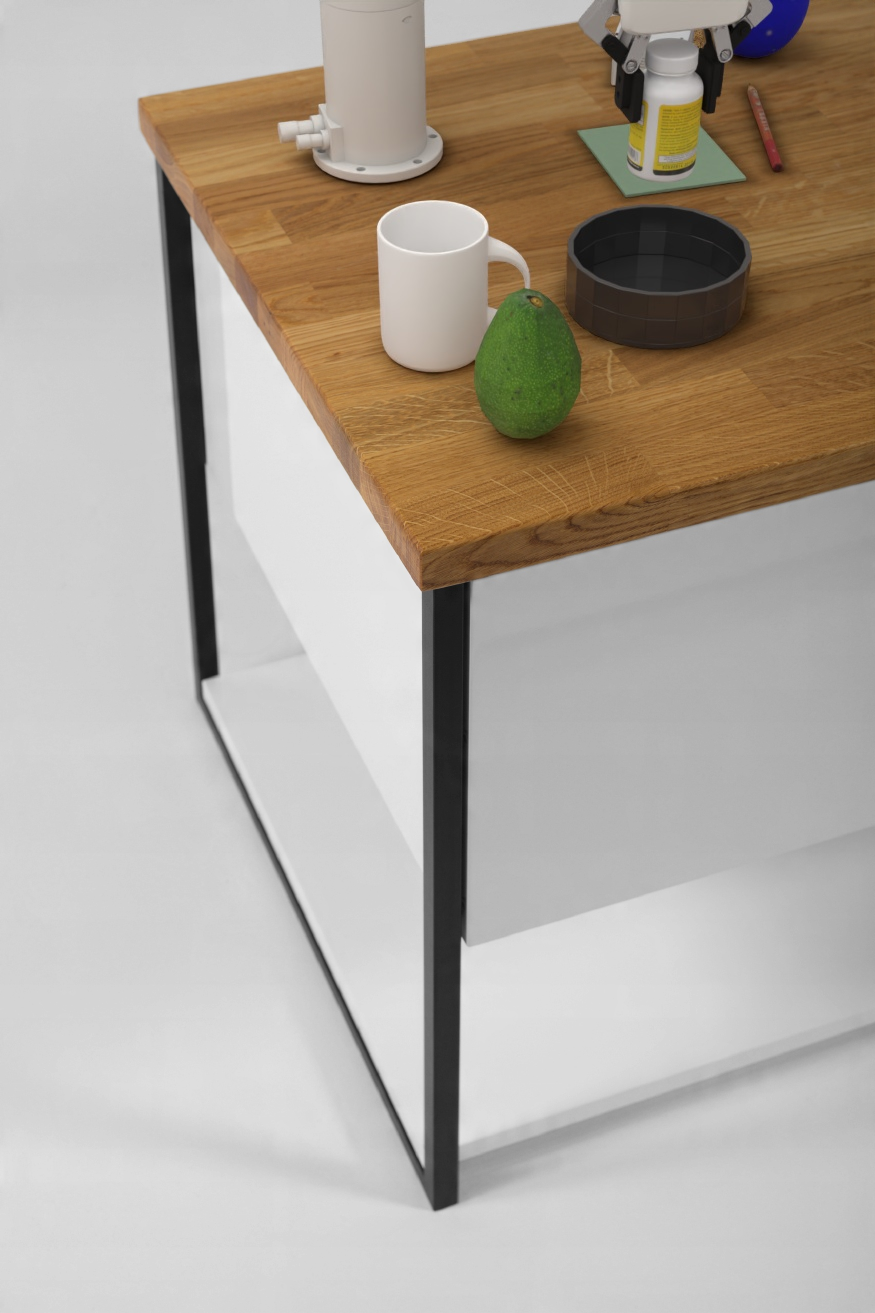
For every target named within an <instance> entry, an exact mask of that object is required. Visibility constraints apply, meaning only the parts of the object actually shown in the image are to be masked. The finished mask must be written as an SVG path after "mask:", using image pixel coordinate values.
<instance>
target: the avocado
mask: <svg viewBox="0 0 875 1313" xmlns="http://www.w3.org/2000/svg"><path fill="white" fill-rule="evenodd" d="M497 309H498V310H497V312H496V314H495V316H494V318H493V320H492V321H491V323H490V325H489V327H488V329H487V331H486V333H485V335H484V337H483V340H482V342H481V345H480V347H479V350H478V353H477V355H476V358H475V360H474V372H473V373H474V375H473V383H474V384H473V385H474V391H475V394H476V397H477V401H478V404H479V407H480V410H481V412H482V413H483V415H484V416H485V417H486V418H487V420H488V422H489V423H490V424H491V425H492V427H493V428H494V429H495V430H496V431H497V432H499V433H500V434H501V435H504V436H507V437H509V438H511V439H532V440H533V439H536V438H539V437H541V436H544V435H546V434H549V433H550V432H551V431H553V430H554V429H555V428H557V427H558V426H559V425H561V424H562V423H563V422H564V421H565V420H566V418H567V416H568V415H569V413H570V412H571V410H572V409H573V408H574V406H575V403H576V402H577V399H578V397H579V395H580V392H581V385H582V360H583V358H582V357H581V356H582V355H581V353H580V350H579V347H578V345H577V342H576V339H575V336H574V334H573V330H572V329H571V328H570V326H569V324H568V322H567V320H566V318H565V317H564V314H563V312H561V310H560V308H559V307H558V305H557V304H555V302H553V301H552V300H551V299H550V297H548V296H546V295H545V294H543V293H542V292H541V291H540V290H537V289H531V288H530V289H527V288H525V287H523V288H520V289H518V290H515V291H512V292H510V293H509V294H508V295H507V296H506V298H504V300H503V301H502V303H501V304H500V305H499V307H498V308H497Z"/></svg>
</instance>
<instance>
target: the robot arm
mask: <svg viewBox="0 0 875 1313" xmlns="http://www.w3.org/2000/svg"><path fill="white" fill-rule="evenodd" d="M772 8H773V6H772V4H771V2H770V1H769V0H593V2H591V5H589V6H588V7H587V9H586V10H585V11H584V12H583V14H582V15H581V16H580V18H579V19H578V21H577V25H578V27H579V29H580V30H581V31H582V32H583V33H584V35H586V36H587V37H588V38H589V39H590V40H592V41H593V42H594V43H595V44H596V45H597V46H598V47H600V48H601V49H602V50H603V51H604V52H605V53H606V54H607V55H608V56H609V57H610V58H611V60H612V59H613V60H614V61H615V62H616V63H617V70H616V83H615V85H614V95H613V96H614V97H613V99H614V104H615V106H616V108H617V109H618V110H619V111H620V112H621V113H622V114H623V116H624V117H625V118H626V119H627V121H628V122H629V124H630V123H638V121H640V120H641V110H642V100H643V89H644V78H645V76H644V73H643V72H642V71H641V69H640V62H641V60H642V57H643V55H644V52H645V50H646V47H647V45H648V42H649V40H650V38H651V35H653V34H662V33H672V32H681V31H689V30H694V31H698V30H701V32H702V37H703V43H704V44H703V47H698V49H699V53H698V65H697V68H696V70H695V71H694V72H696V73H697V74H698V75H699V76H700V78H701V79H702V81H703V87H704V88H703V99H702V108H701V111H702V112H703V113H705V114H706V115H711V114H715V112H716V106H717V99H718V98H720V97H721V95H722V89H723V83H724V82H723V81H724V73H725V65H726V63H728V62H729V61H731V60H732V58H733V56H734V54H733V51H734V49H735V48H736V47H737V46H738V45H739V44H740V43H741V42H742V41H743V40H744V39H745V38H746V37H747V36H748V35H749V34H750V32H751V29H752V28H753V27H755V26H757V25H758V24H759V23H760V22H761V21H762V20H763V19H764V18H765V17H766V16H767V15H768V14H769V13H770V12H771V11H772ZM425 10H426V9H425V0H319V11H320V12H319V13H320V14H319V15H320V30H321V49H322V64H323V81H324V82H323V83H324V97H325V98H324V99H325V103H319V104H318V114H313V115H309V118H308V119H305V120H289V121H280V122H277V135H278V139H279V142H280V144H290V143H295V146H296V150H297V151H305V150H312V159H313V162H314V163H315V164H316V165H317V167H319V169H321V170H322V171H323V172H325V173H327V174H328V175H330V176H332V177H335V178H337V179H339V180H340V179H341V180H344V181H349V182H354V183H363V184H387V183H395V182H401V181H405V180H410V179H413V178H415V177H416V178H417V177H418V176H421V175H423V174H425V173H427V172H429V171H431V170H432V169H433V168H434V167H436V166H437V165H438V164H439V162H440V161H441V160H442V157H443V154H444V142H443V139H442V136H441V135H440V134H439V132H438V131H436V129H434V128H433V127H432V126H430V125H428V124H427V79H426V78H427V75H426V74H427V73H426V23H425V22H426V20H425V17H426V14H425ZM612 16H620V20H621V28H620V31H619V33H618V36H617V37H616V36H615V33H613V32H612V31H611V30H610V29H608V28H607V26H606V24H607V22H608V21H609V19H610V18H611V17H612Z"/></svg>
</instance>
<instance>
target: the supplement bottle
mask: <svg viewBox="0 0 875 1313" xmlns="http://www.w3.org/2000/svg"><path fill="white" fill-rule="evenodd" d="M698 53H699V47H698V45H697V44H695V43H694V42H693V43H692V42H690V41H687V40H684V39H678V38H661V39H657V40H654V41H652V42H650V43H649V44H648V45H647V47H646V54H645V67H646V69H645V70H643V71H642V72H643V73H644V76H645V78H644V89H643V100H642V110H641V120H640V121H638V123H630V122H629V124H630V131H629V143H628V155H627V166H628V169H629V170H630V172H631V173H632V174H634V175H635V176H637V177H639V178H641V179H644V180H647V181H652V182H661V183H668V182H676V181H679V180H682V179H684V178H686V177H688V176H689V175H690V174H691V173H692V172H693V170H694V166H695V161H696V153H697V143H698V134H699V126H701V115H702V109H701V108H702V99H703V88H704V87H703V81H702V79H701V78H700V76H699V75H698V74H697V73H696V72H695V70H696V68H697V65H698Z"/></svg>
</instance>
